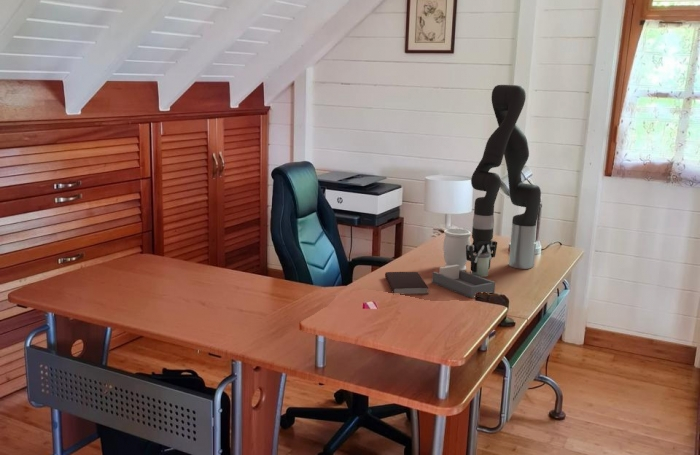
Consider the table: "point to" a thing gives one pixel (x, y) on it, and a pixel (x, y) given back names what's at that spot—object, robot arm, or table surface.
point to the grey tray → (464, 283)
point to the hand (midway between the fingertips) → (480, 270)
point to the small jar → (482, 264)
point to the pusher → (450, 271)
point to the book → (406, 282)
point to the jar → (456, 247)
